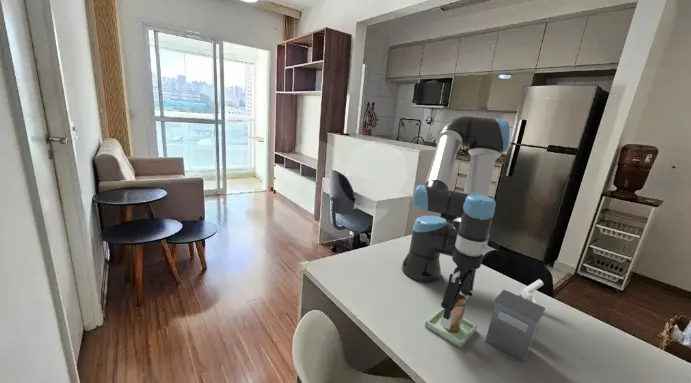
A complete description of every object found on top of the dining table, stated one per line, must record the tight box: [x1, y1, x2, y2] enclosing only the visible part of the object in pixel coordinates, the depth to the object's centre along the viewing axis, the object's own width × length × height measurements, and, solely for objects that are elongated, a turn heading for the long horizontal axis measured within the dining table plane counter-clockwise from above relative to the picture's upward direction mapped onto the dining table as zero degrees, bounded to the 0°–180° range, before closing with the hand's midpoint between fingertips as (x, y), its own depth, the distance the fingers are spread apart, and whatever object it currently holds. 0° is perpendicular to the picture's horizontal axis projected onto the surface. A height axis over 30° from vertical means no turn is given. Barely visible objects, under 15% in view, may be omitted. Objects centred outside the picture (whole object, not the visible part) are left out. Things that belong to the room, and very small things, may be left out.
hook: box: [515, 278, 545, 304], centre depth 104 cm, size 8×12×7 cm
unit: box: [484, 289, 546, 364], centre depth 82 cm, size 11×8×14 cm
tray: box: [424, 307, 478, 350], centre depth 88 cm, size 11×11×2 cm
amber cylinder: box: [443, 294, 468, 333], centre depth 86 cm, size 5×5×10 cm
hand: (452, 319), depth 87 cm, fingers open, 9 cm apart
